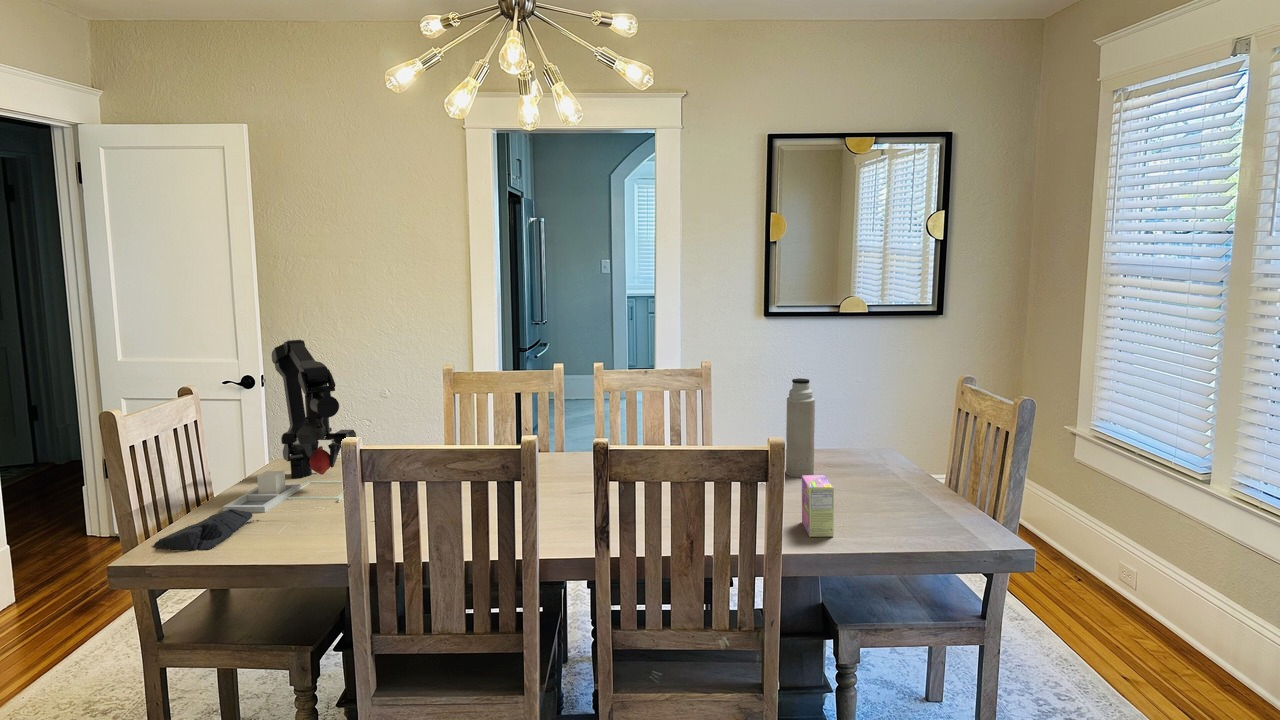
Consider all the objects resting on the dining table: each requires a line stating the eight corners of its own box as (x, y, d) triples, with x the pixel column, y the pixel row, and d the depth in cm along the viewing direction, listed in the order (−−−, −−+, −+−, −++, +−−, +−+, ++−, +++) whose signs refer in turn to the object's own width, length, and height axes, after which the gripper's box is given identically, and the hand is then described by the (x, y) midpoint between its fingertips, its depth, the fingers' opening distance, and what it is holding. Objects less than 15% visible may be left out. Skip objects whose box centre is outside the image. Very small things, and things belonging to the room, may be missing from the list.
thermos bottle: (810, 469, 240) (812, 376, 236) (816, 477, 232) (817, 381, 228) (783, 469, 240) (784, 377, 236) (788, 477, 232) (789, 381, 228)
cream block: (268, 492, 222) (266, 470, 221) (286, 492, 222) (284, 470, 221) (259, 497, 217) (257, 476, 216) (277, 497, 217) (275, 476, 216)
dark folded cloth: (264, 521, 203) (263, 503, 202) (208, 554, 181) (206, 534, 180) (208, 519, 205) (206, 501, 204) (145, 552, 183) (143, 532, 182)
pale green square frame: (307, 485, 232) (307, 481, 232) (362, 485, 231) (362, 480, 231) (280, 502, 216) (280, 498, 216) (339, 502, 215) (338, 498, 215)
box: (800, 522, 195) (801, 474, 193) (824, 522, 194) (825, 474, 193) (808, 537, 184) (809, 487, 183) (833, 537, 184) (834, 487, 183)
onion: (317, 478, 219) (315, 450, 217) (306, 475, 222) (304, 447, 221) (337, 473, 223) (335, 445, 222) (325, 470, 227) (323, 442, 225)
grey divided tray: (263, 492, 225) (262, 483, 225) (301, 492, 225) (301, 483, 224) (223, 516, 205) (222, 506, 205) (265, 516, 205) (264, 506, 205)
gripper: (269, 418, 213) (273, 475, 215) (338, 417, 212) (342, 475, 214) (289, 409, 224) (293, 464, 226) (355, 409, 223) (358, 464, 225)
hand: (321, 467), depth 222 cm, fingers closed on onion, 6 cm apart
